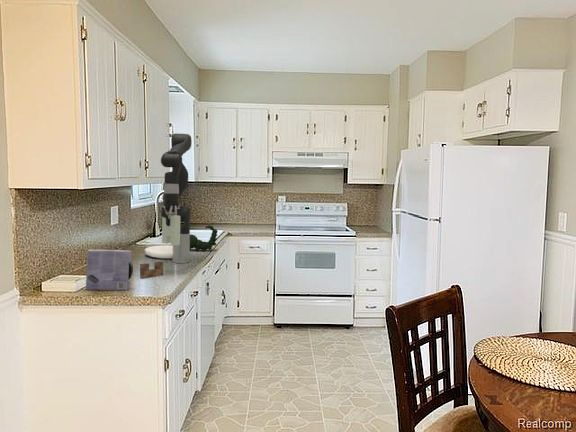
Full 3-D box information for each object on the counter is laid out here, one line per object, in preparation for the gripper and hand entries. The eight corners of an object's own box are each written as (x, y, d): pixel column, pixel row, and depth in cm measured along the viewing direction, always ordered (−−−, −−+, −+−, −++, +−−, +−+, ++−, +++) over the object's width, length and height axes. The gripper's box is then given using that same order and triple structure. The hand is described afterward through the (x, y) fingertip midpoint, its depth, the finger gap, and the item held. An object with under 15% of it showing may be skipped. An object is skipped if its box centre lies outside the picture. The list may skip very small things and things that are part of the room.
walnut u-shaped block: (142, 278, 226) (142, 264, 225) (140, 277, 227) (140, 264, 227) (163, 275, 235) (163, 261, 235) (160, 274, 237) (160, 261, 236)
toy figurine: (215, 252, 319) (179, 248, 317) (218, 225, 318) (182, 221, 315) (214, 254, 310) (177, 250, 308) (217, 227, 308) (180, 222, 306)
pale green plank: (162, 242, 241) (162, 214, 240) (166, 242, 243) (167, 214, 242) (175, 245, 234) (175, 216, 233) (180, 244, 236) (180, 215, 235)
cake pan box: (133, 287, 208) (133, 249, 206) (131, 290, 203) (131, 251, 201) (88, 287, 205) (88, 248, 203) (85, 290, 200) (85, 250, 198)
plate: (198, 249, 293) (166, 254, 271) (197, 258, 294) (165, 265, 272) (168, 240, 308) (135, 244, 286) (168, 249, 309) (135, 254, 287)
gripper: (177, 192, 244) (177, 224, 246) (155, 192, 233) (155, 225, 235) (186, 192, 240) (186, 225, 241) (164, 192, 229) (164, 227, 230)
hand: (171, 225), depth 238 cm, fingers closed on pale green plank, 3 cm apart
